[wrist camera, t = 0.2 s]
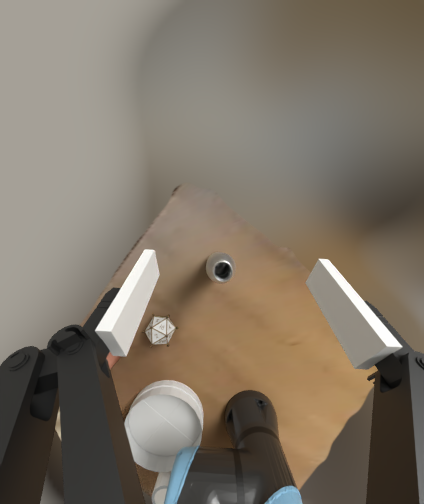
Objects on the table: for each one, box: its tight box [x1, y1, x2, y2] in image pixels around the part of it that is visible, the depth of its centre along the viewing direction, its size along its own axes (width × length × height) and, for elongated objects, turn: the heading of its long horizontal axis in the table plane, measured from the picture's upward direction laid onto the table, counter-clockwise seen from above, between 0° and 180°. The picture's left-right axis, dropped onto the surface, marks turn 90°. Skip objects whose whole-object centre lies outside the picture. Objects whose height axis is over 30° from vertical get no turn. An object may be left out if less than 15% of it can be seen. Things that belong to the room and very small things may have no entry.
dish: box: [124, 380, 203, 472], centre depth 48 cm, size 22×22×5 cm
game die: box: [142, 313, 179, 348], centre depth 46 cm, size 9×8×10 cm
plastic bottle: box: [206, 252, 236, 284], centre depth 40 cm, size 6×7×20 cm
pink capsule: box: [106, 352, 121, 369], centre depth 44 cm, size 4×4×12 cm
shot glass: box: [152, 471, 171, 504], centre depth 47 cm, size 7×7×7 cm
